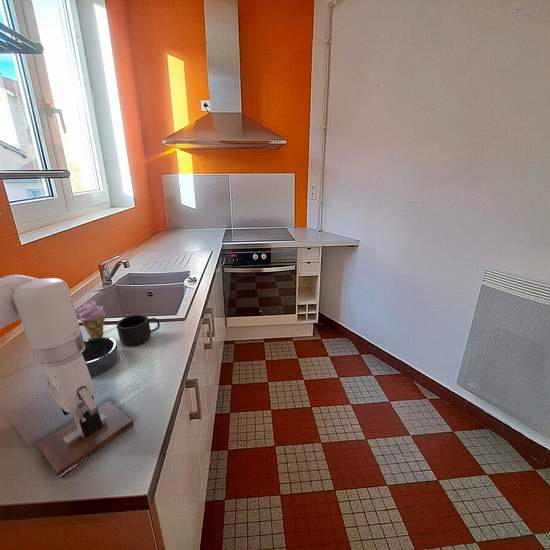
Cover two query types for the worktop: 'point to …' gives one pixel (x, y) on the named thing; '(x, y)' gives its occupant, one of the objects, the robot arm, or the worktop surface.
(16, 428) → the worktop surface
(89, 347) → the round grey bowl
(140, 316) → the mug
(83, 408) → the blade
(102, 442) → the cutting board
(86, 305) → the ice cream cone
